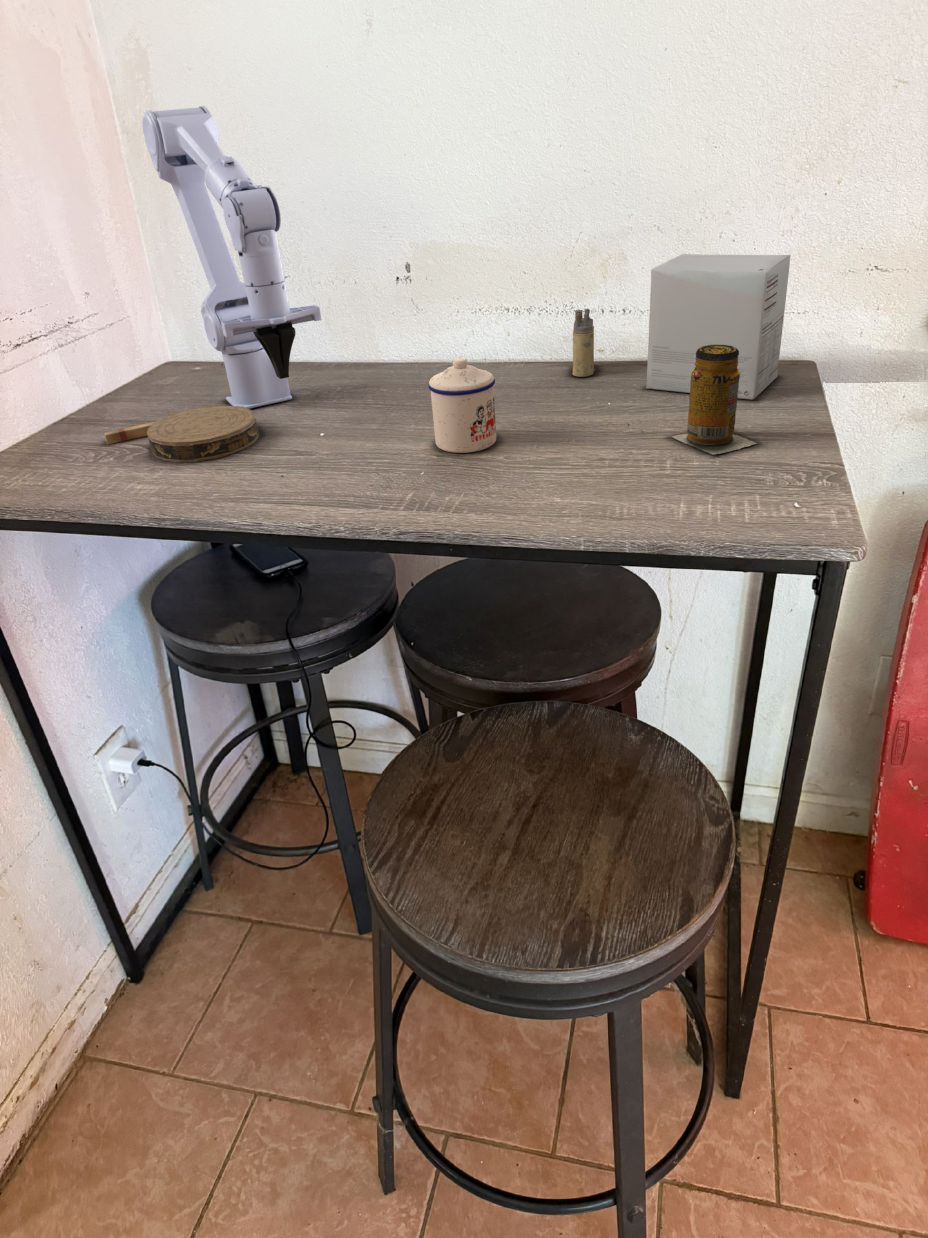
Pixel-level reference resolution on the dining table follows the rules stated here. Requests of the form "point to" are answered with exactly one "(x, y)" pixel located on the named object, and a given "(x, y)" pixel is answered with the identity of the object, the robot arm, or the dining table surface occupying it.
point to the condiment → (714, 401)
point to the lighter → (583, 344)
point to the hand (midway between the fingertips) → (282, 376)
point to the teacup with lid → (463, 408)
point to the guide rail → (127, 433)
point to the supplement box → (717, 317)
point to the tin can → (203, 433)
